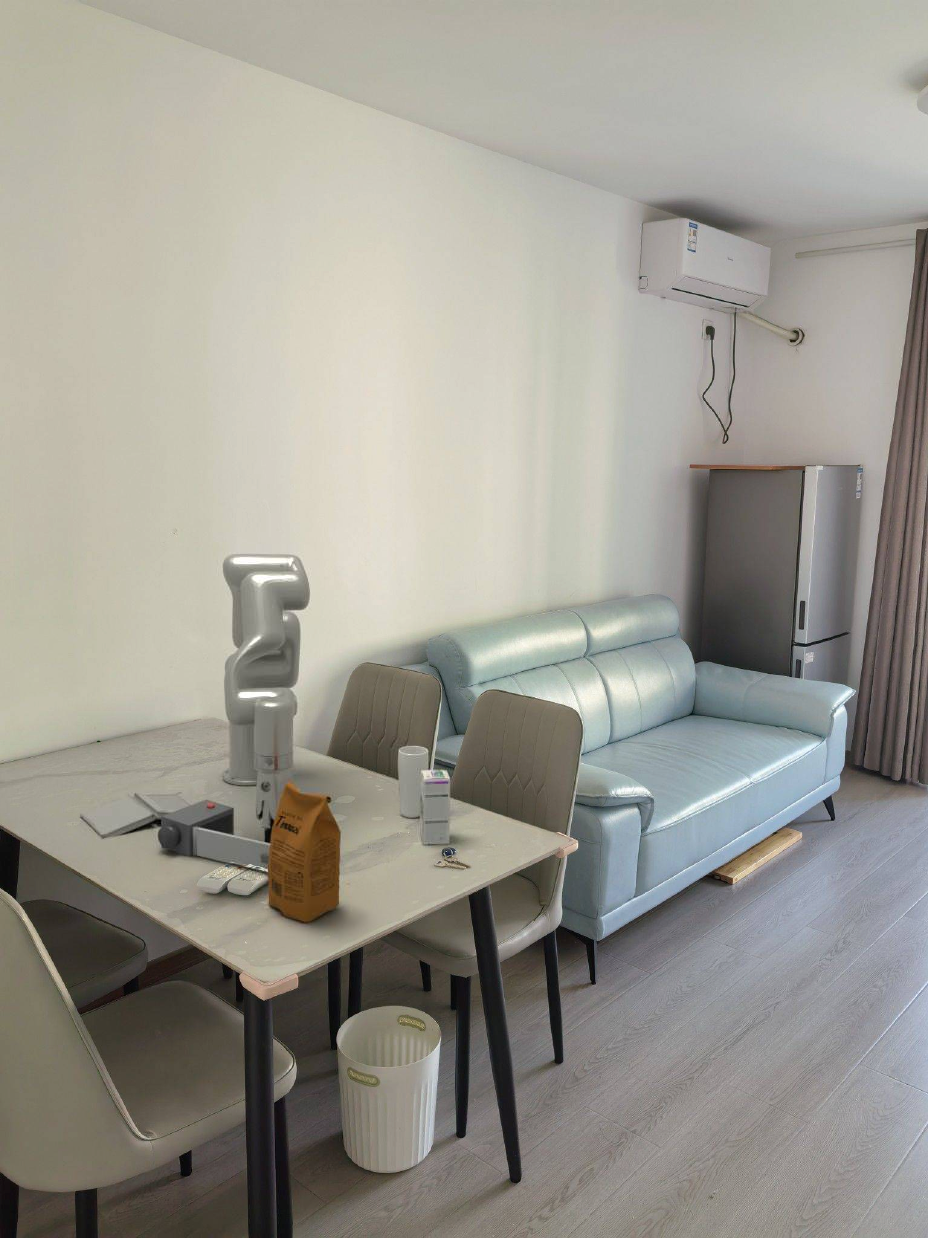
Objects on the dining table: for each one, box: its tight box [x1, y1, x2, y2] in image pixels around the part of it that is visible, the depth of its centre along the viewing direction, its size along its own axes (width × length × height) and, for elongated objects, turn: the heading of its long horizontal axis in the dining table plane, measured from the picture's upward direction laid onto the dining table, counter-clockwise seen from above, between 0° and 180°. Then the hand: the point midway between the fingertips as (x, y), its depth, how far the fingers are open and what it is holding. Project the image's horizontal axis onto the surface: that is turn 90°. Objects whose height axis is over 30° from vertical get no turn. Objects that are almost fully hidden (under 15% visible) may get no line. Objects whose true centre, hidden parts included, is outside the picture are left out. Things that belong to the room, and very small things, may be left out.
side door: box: [192, 827, 270, 869], centre depth 184 cm, size 20×2×6 cm, turn 67°
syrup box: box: [419, 769, 451, 846], centre depth 200 cm, size 6×6×14 cm
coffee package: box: [267, 781, 342, 923], centre depth 167 cm, size 10×12×22 cm
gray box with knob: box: [157, 799, 235, 857], centre depth 194 cm, size 14×8×7 cm, turn 148°
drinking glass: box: [397, 745, 429, 819], centre depth 214 cm, size 7×7×15 cm
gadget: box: [79, 791, 197, 839], centre depth 208 cm, size 23×15×4 cm, turn 129°
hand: (273, 847), depth 191 cm, fingers closed
